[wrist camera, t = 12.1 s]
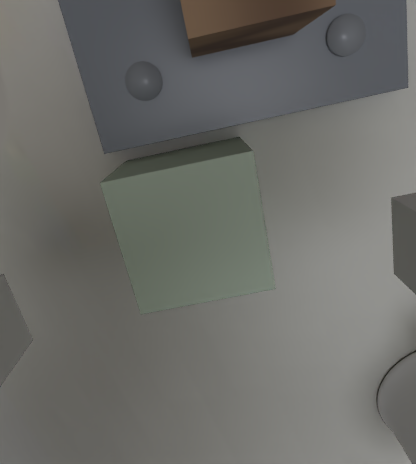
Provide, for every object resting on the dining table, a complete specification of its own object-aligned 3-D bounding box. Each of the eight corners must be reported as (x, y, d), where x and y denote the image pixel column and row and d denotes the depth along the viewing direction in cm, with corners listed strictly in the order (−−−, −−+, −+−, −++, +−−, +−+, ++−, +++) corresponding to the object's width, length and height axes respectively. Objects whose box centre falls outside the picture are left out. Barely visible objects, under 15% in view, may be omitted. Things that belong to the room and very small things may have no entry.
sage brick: (155, 262, 23) (140, 314, 18) (126, 160, 21) (99, 182, 15) (257, 242, 23) (275, 288, 17) (238, 136, 21) (253, 150, 15)
